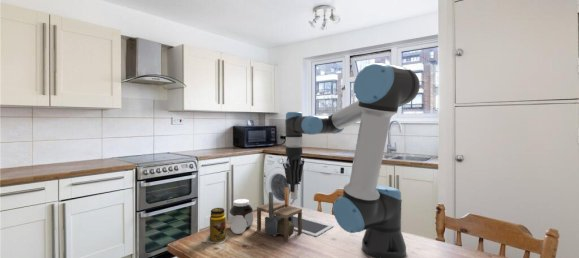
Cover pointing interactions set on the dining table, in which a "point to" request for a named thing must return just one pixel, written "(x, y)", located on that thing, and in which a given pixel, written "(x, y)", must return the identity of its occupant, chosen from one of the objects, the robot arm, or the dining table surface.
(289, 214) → the brown wooden table
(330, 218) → the dining table surface
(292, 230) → the stone block
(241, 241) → the dining table surface
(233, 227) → the spread jar
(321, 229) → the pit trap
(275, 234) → the slider frame
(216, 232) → the condiment
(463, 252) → the dining table surface
